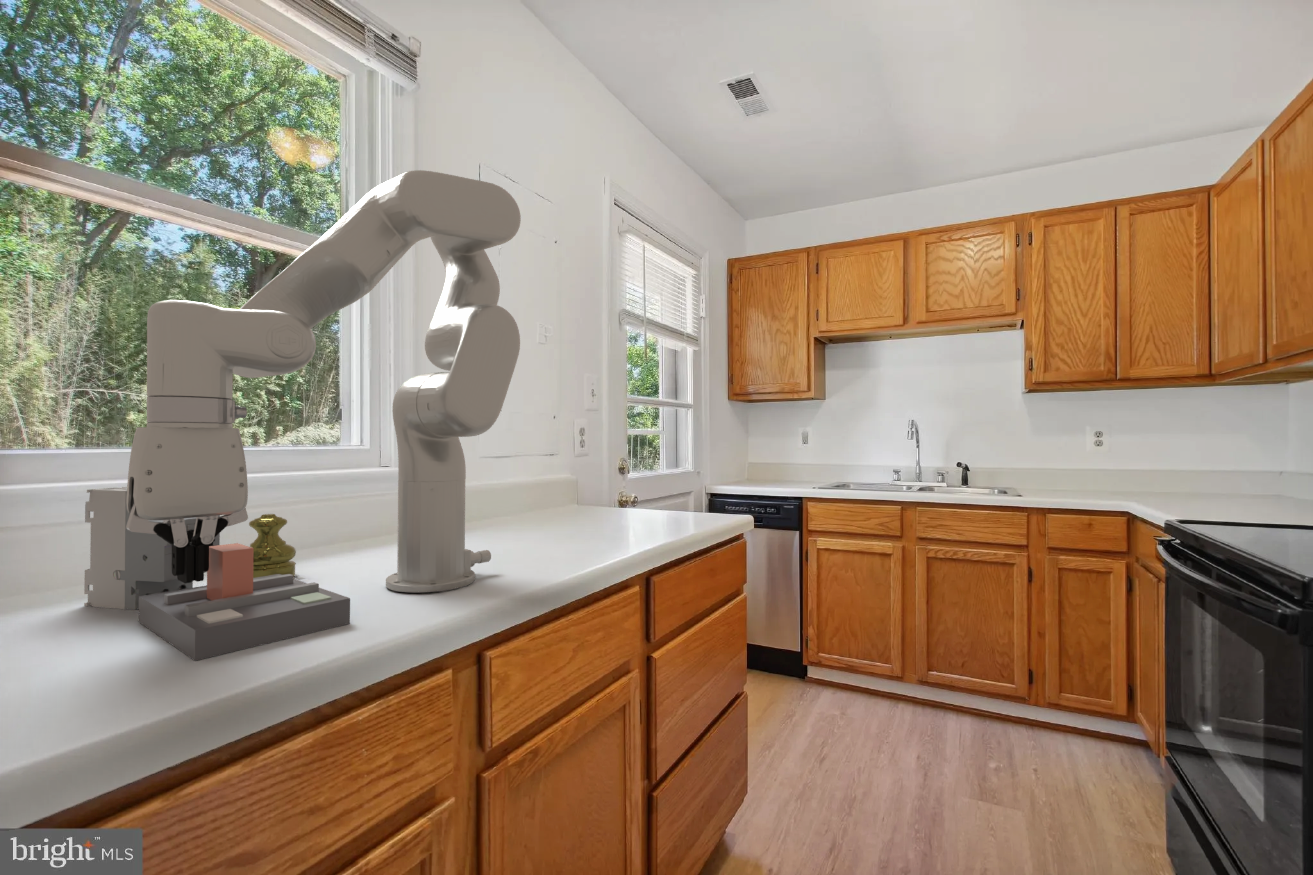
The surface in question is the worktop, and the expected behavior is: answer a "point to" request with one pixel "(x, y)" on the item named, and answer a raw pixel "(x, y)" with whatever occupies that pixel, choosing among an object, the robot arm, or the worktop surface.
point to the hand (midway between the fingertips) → (190, 579)
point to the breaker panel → (242, 615)
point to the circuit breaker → (126, 555)
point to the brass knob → (271, 548)
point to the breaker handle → (229, 571)
